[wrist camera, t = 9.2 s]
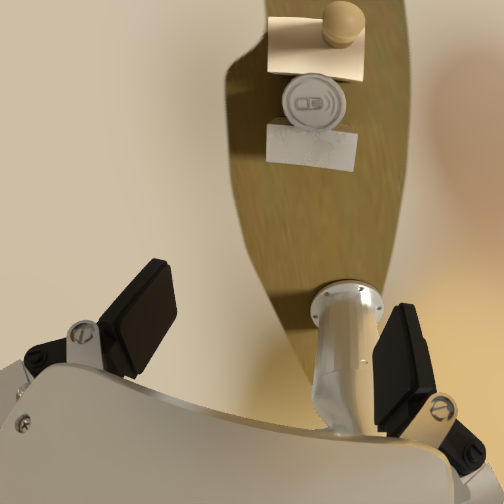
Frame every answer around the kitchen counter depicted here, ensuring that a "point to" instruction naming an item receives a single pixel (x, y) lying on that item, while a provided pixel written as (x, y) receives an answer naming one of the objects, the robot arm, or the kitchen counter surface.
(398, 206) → the kitchen counter surface
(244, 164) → the kitchen counter surface
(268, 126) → the grey box
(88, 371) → the robot arm
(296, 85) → the beer can
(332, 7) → the wooden block with peg
